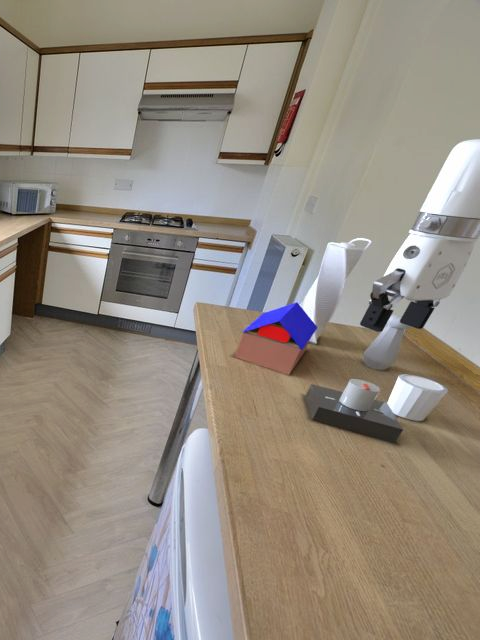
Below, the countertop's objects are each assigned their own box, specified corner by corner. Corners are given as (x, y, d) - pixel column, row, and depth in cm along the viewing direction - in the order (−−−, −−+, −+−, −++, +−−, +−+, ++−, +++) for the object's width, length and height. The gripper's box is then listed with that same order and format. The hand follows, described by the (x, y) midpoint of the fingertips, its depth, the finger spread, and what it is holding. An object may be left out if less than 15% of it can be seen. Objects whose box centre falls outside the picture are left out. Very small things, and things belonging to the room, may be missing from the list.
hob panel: (379, 415, 80) (387, 402, 79) (395, 443, 73) (404, 429, 71) (305, 395, 86) (311, 383, 84) (312, 419, 78) (319, 406, 77)
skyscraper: (324, 338, 114) (372, 237, 102) (322, 347, 109) (373, 241, 96) (288, 329, 119) (329, 232, 107) (284, 337, 113) (328, 235, 101)
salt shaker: (358, 358, 104) (383, 310, 98) (388, 365, 101) (415, 316, 95) (361, 366, 99) (387, 317, 94) (392, 374, 97) (422, 324, 91)
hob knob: (336, 395, 81) (347, 375, 79) (365, 402, 79) (377, 382, 77) (341, 406, 77) (352, 385, 75) (371, 414, 75) (384, 392, 73)
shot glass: (374, 406, 83) (391, 376, 80) (392, 400, 86) (409, 371, 83) (418, 426, 78) (438, 395, 75) (435, 418, 80) (455, 388, 77)
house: (306, 350, 106) (326, 309, 101) (290, 375, 93) (311, 329, 88) (254, 335, 114) (270, 295, 109) (232, 356, 101) (248, 313, 96)
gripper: (437, 232, 59) (378, 339, 66) (515, 232, 63) (451, 333, 70) (379, 222, 65) (331, 321, 73) (453, 223, 69) (400, 316, 77)
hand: (390, 327), depth 71 cm, fingers open, 9 cm apart
